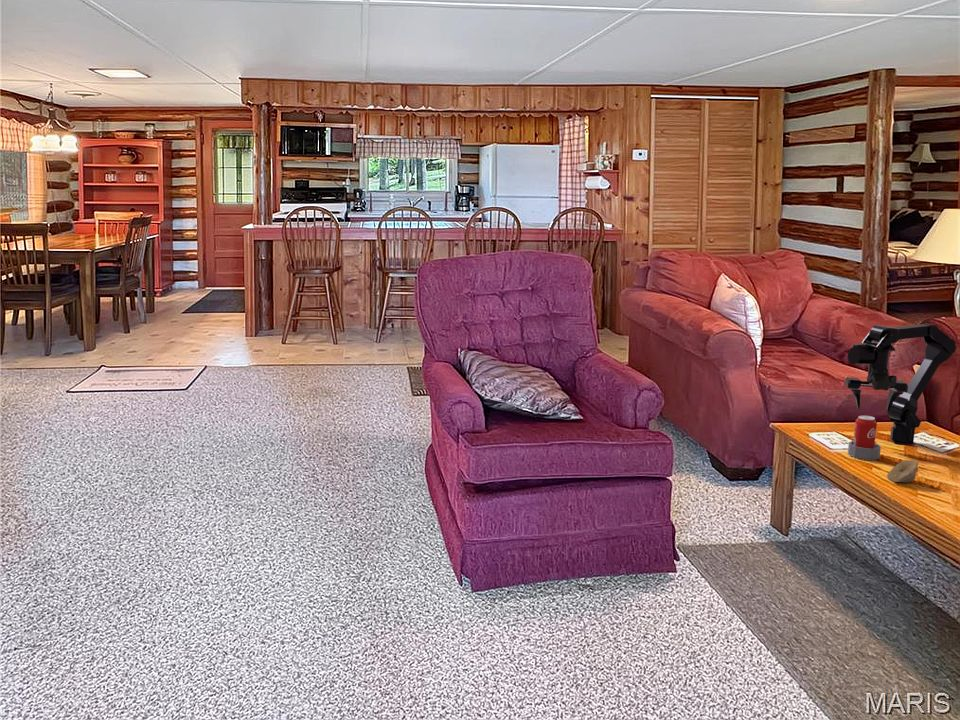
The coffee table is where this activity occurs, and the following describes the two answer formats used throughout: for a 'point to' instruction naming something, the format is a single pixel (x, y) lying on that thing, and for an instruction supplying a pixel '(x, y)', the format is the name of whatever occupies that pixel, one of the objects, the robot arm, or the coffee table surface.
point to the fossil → (903, 471)
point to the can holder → (864, 452)
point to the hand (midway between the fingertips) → (872, 409)
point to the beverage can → (865, 432)
